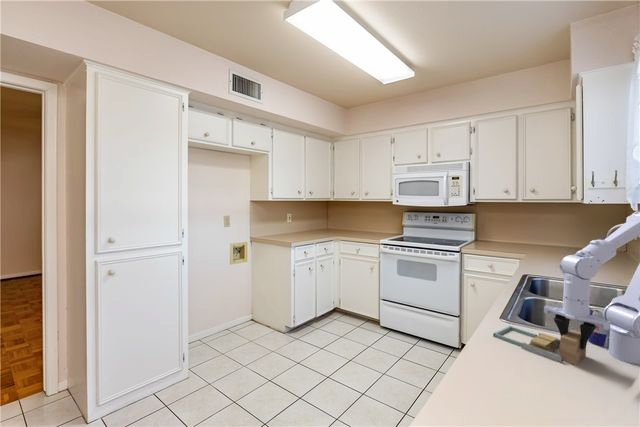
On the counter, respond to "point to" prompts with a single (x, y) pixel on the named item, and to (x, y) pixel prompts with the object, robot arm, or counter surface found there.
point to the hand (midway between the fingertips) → (573, 345)
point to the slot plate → (552, 354)
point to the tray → (498, 335)
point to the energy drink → (599, 330)
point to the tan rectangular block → (571, 347)
